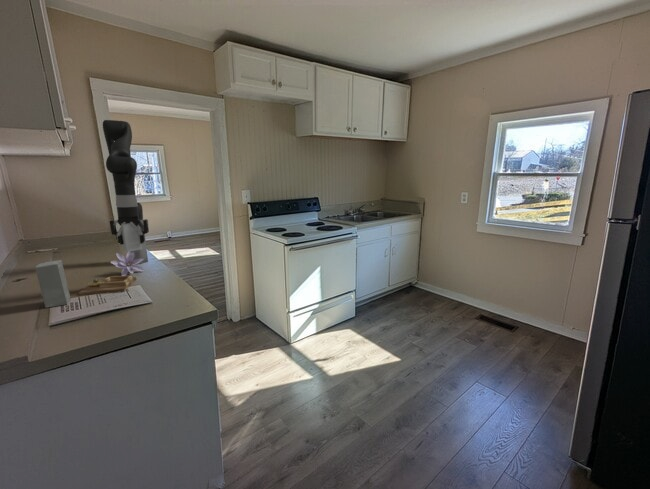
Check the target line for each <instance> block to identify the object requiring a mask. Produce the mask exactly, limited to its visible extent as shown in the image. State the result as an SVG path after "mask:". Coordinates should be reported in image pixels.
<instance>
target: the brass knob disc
mask: <svg viewBox="0 0 650 489" xmlns="http://www.w3.org/2000/svg"><path fill="white" fill-rule="evenodd" d="M101 282H102V280H101V279H98V278H95V279H94V278H93V279H92V280H91V281H89V282H87V284H88V285H87V286H89V287H98V286H100V285H99V284H100V283H101Z"/></svg>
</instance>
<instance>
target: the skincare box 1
mask: <svg viewBox="0 0 650 489" xmlns="http://www.w3.org/2000/svg"><path fill="white" fill-rule="evenodd" d="M63 264H64V263H63V260H62V259H60V260H59V259H58V260H53V261H43V262H40V263H39V264H37V265H36V266H35V267H34V270H35V272H36V277H37V280H38V285H39V288H40V292H41V295H42V299H43V303H44V307H45V308H53V307H58V306H59V307H60V306H66V305H65V304H67V305H68V303H69V301H70V300H71V294H70V290H69V286H68V282H67V277H66V272H65V269H64V265H63Z"/></svg>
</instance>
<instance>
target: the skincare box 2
mask: <svg viewBox="0 0 650 489" xmlns="http://www.w3.org/2000/svg"><path fill="white" fill-rule="evenodd" d="M134 224H135V223H134ZM121 225H122V238H123V244H122V245H123V250H124V251H125V252H126V253H128V252H129V251H136V250H142V245H141V243H140V234H139V233H138V232H137V231H136V230H135V229H134V228H133V226H131V224H130V223H126V224H121ZM137 227H138V228H139V224H138V226H137Z"/></svg>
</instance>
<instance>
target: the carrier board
mask: <svg viewBox="0 0 650 489" xmlns="http://www.w3.org/2000/svg"><path fill="white" fill-rule="evenodd" d="M100 280H102V282H101V283H100V284H99V285H100V286H98V287H89V286H88V285H86V286H85V287H84V288H83V289H81V290H80V291H79V292H78V295H79V296H85V295H86V296H87V295H97V294H99V293H101V294H108V293H107V292H113V293H119V292H118V291H124V292H126V291H127V289H128V288H129V287H131V285H132V284H133V283H135V282H136V280H137V277H136V276H133V274H131V275H130V274H129V275H128V274H127V275H126V276H122V275H115V276H114V275H113V276H107V277H106V278H103V279H102V278H101V279H100Z"/></svg>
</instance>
